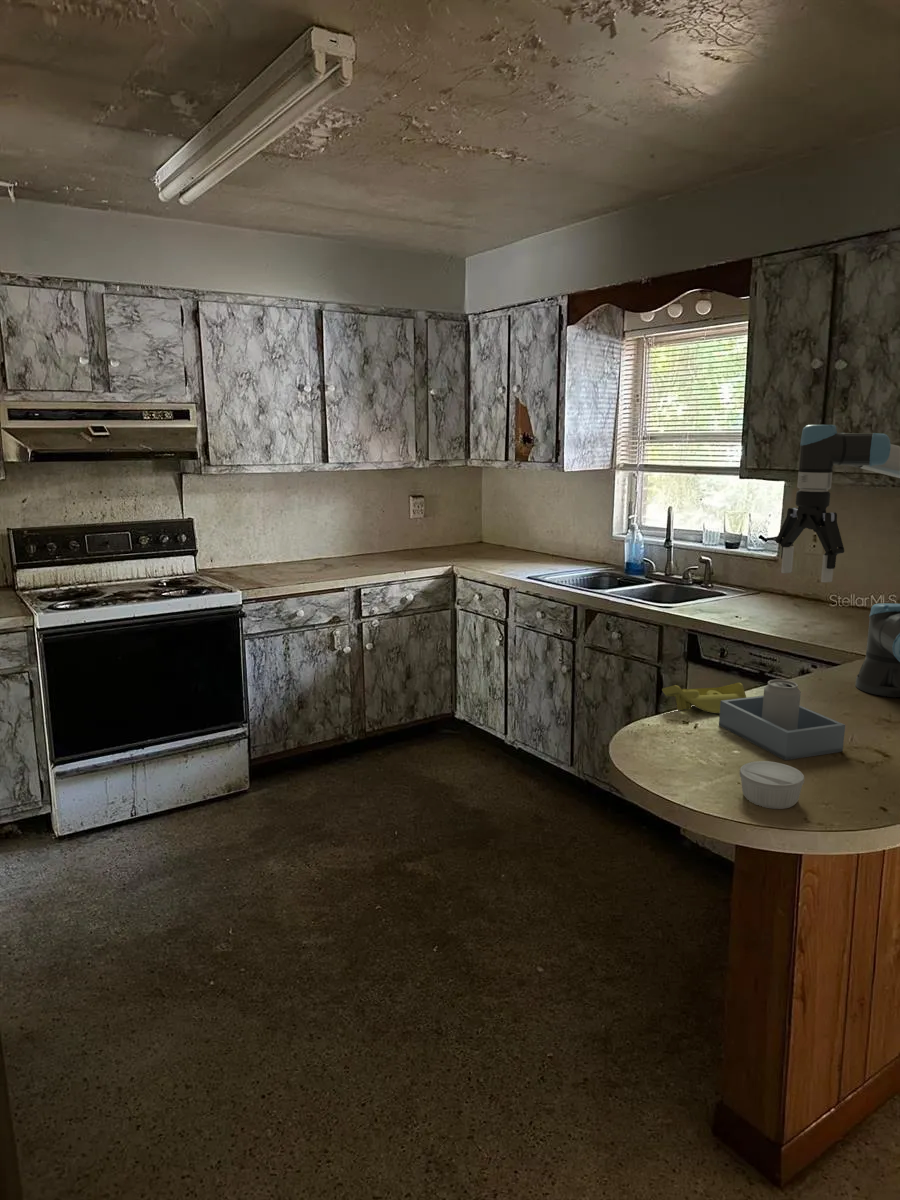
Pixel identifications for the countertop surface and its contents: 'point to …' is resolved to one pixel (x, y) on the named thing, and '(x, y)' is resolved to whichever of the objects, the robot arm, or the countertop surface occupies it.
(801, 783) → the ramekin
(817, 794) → the countertop surface
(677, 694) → the plastic component
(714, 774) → the countertop surface
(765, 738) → the bin
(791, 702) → the can
